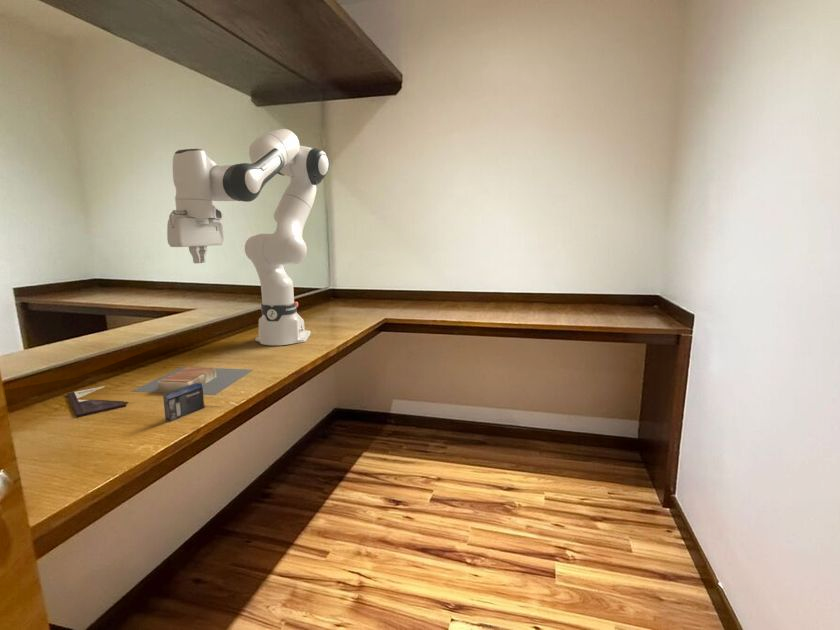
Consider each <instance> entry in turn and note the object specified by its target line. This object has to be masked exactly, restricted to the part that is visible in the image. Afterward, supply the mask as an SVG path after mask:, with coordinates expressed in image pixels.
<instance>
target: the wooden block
mask: <svg viewBox="0 0 840 630" xmlns="http://www.w3.org/2000/svg"><path fill="white" fill-rule="evenodd" d="M186 367H187V368H185V369H182V370H180V371H178V372H176V373H174V374H172V375H170V376H168V377H166V378H164V379H162V380H160V381H159V382H158V390H159V392H170V391H173V390H176V389H179V388H182V387H185V386H188V385H191V384H194V383H197V382H198V383H201V384H202V385H204V384H205V383H207V382H209V381H211V380H212V379H214V378H216V368H215V367H211V366H210V367H206V366H203V367H202V366H186Z"/></svg>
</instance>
